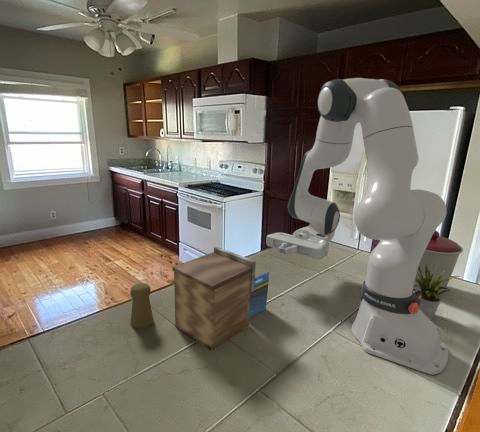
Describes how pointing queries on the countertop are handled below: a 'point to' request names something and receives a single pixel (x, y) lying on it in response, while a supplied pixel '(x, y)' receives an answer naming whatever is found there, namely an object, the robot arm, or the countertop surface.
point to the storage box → (212, 309)
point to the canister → (439, 258)
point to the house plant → (430, 291)
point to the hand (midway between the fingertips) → (282, 250)
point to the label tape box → (259, 295)
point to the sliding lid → (217, 268)
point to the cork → (141, 306)
